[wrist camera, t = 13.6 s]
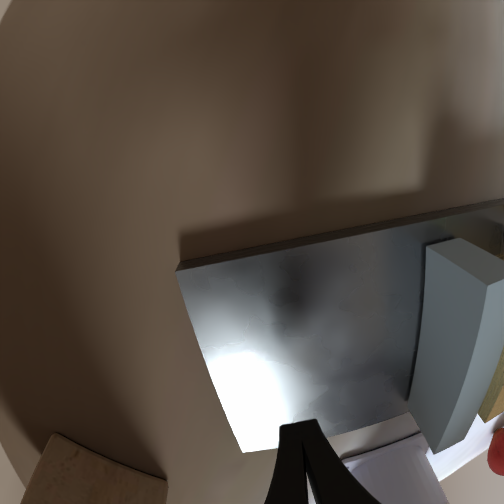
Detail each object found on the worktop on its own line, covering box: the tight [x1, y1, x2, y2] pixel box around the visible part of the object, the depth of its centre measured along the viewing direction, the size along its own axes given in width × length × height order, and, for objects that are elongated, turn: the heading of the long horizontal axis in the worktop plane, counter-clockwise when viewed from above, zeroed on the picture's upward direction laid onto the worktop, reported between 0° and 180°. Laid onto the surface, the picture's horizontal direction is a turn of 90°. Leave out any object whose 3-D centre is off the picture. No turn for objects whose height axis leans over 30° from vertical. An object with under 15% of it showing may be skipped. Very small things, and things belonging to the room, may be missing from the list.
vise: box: [175, 199, 504, 452], centre depth 11 cm, size 12×18×5 cm, turn 101°
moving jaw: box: [407, 238, 504, 454], centre depth 11 cm, size 10×2×4 cm, turn 11°
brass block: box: [478, 254, 504, 423], centre depth 10 cm, size 6×4×5 cm, turn 11°
